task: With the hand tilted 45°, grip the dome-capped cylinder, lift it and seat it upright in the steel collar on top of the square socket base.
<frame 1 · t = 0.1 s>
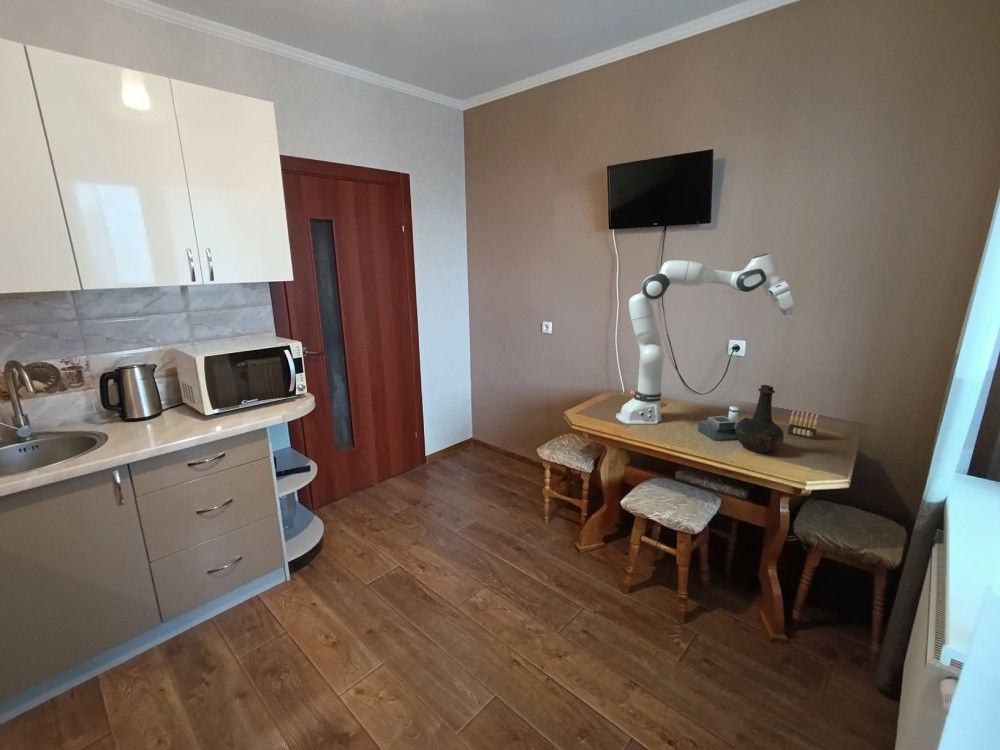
hand: (788, 315, 193), 54 cm above the table, tool tilted 30°, fingers open, 8 cm apart
square socket base: (719, 434, 202), on the table
dome-capped cylinder: (731, 424, 214), on the table
ammunition clip: (801, 436, 199), on the table
glass bottle: (756, 448, 188), on the table
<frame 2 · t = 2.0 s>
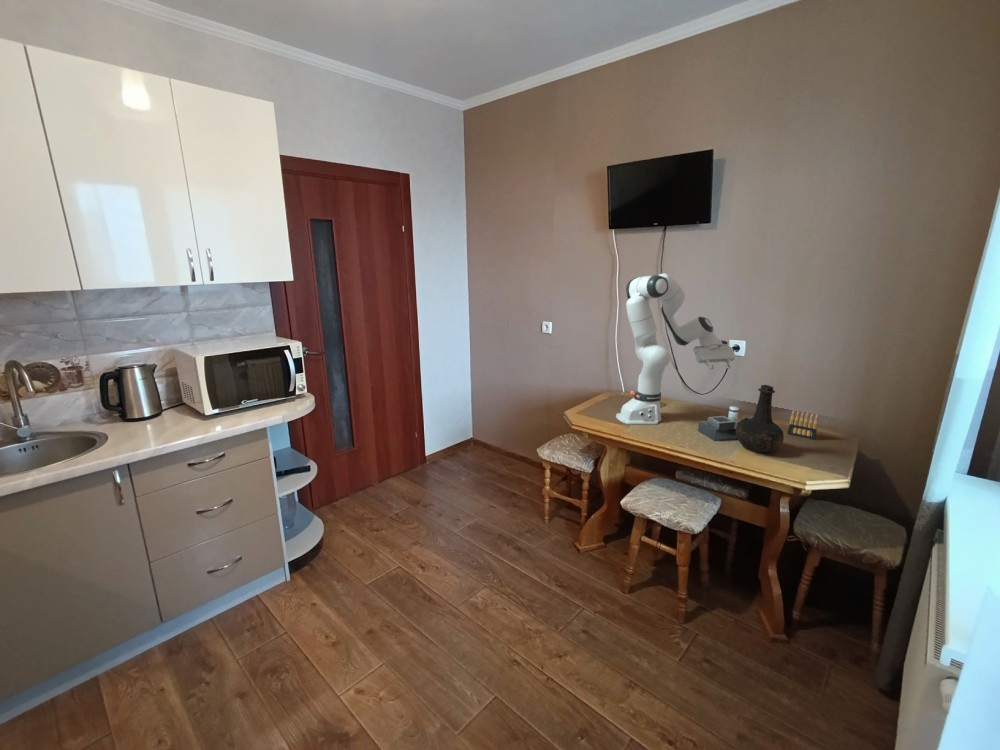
hand: (720, 368, 220), 25 cm above the table, tool tilted 45°, fingers open, 8 cm apart
nothing on the table moved.
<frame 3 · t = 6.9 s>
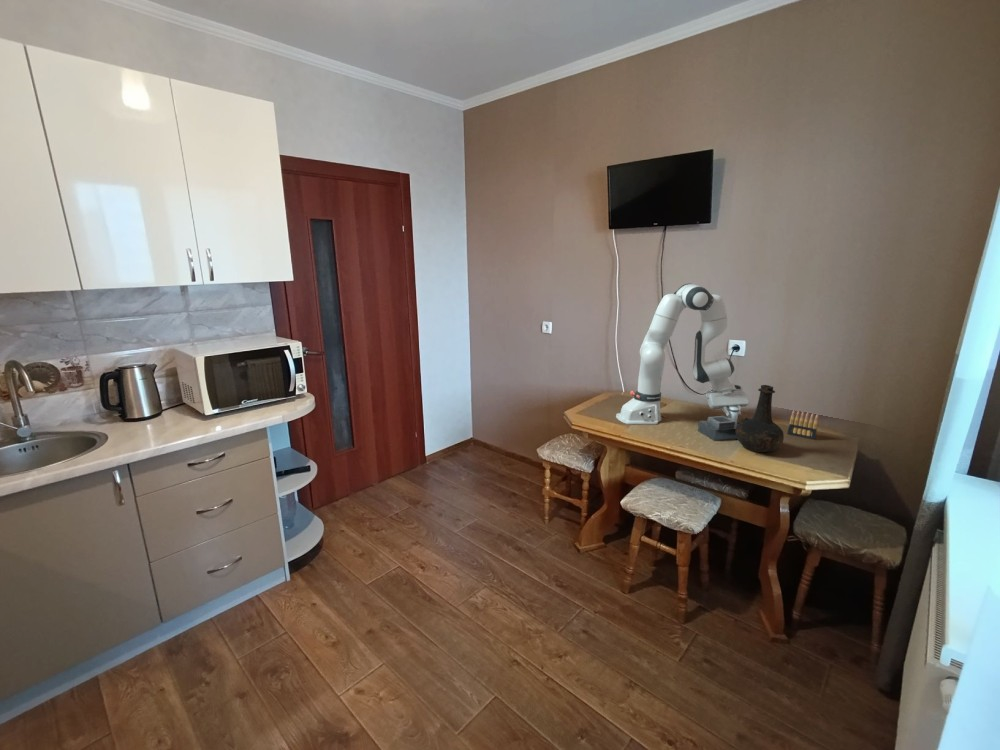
hand: (734, 415, 212), 5 cm above the table, tool tilted 45°, fingers closed on dome-capped cylinder, 4 cm apart
dome-capped cylinder: (731, 424, 214), on the table, touching gripper
everything else where it was.
when the fingers open (12 cm above the table, at t = 12.0 s): dome-capped cylinder drops 1 cm, resting on square socket base.
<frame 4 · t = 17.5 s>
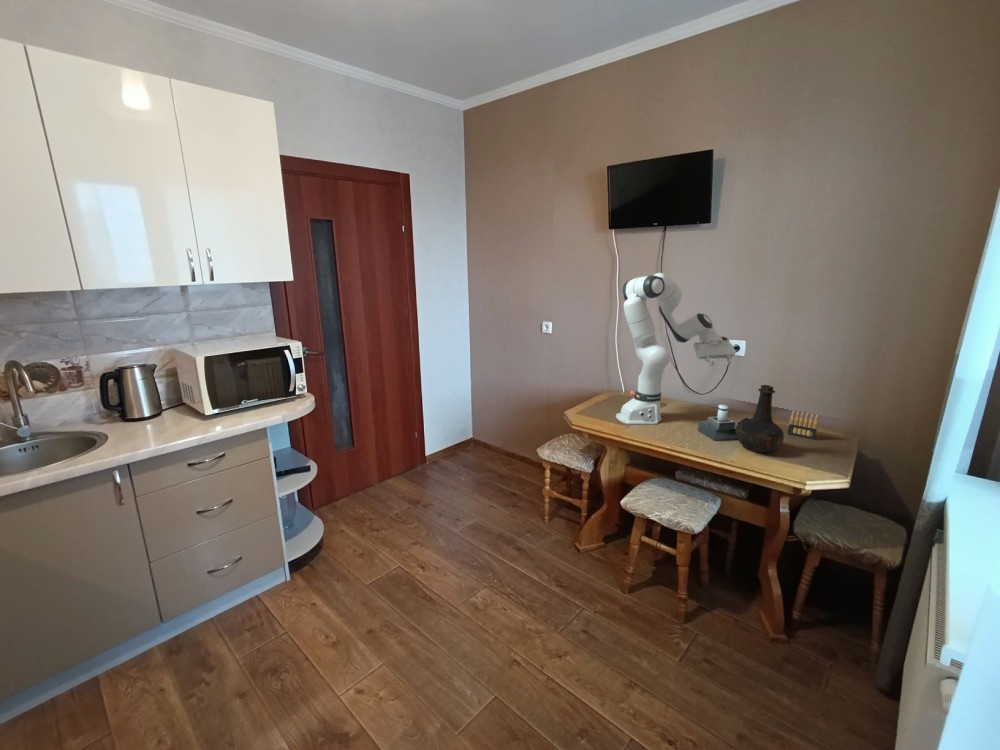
hand: (720, 364, 220), 27 cm above the table, tool tilted 45°, fingers open, 8 cm apart
dome-capped cylinder: (721, 424, 201), point 5 cm above the table, touching square socket base
everything else where it was.
at the end: dome-capped cylinder 0.2 cm off-centre on the square socket base, point 5.0 cm above the square socket base's base; dome-capped cylinder tilted 0°; the gripper is holding nothing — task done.
